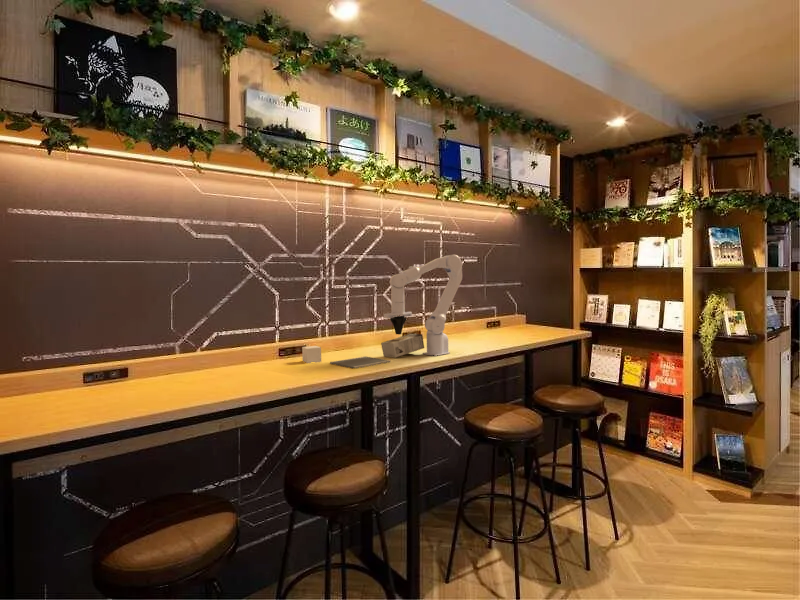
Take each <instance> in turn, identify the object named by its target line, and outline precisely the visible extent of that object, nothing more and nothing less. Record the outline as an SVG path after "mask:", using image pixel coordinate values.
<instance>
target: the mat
mask: <svg viewBox="0 0 800 600" xmlns="http://www.w3.org/2000/svg"><path fill="white" fill-rule="evenodd" d="M387 362H389V363H392V362H391V360H389V359H382V358H377V357H371V356H360V357H353V358H347V359H341V360H333V361H330V362H329V365H334V364H336V365H335V366H339V365H340V366H339V367H344V366H345V368H348V367H350V368H349V369H353V368H356V369H360V368H359V367H361V368H366V367H365V366H367V367H372V366H377V365H376V364H378V365H382V364H381V363H384V364H388V363H387ZM371 365H372V366H371Z"/></svg>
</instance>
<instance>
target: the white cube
mask: <svg viewBox="0 0 800 600" xmlns="http://www.w3.org/2000/svg"><path fill="white" fill-rule="evenodd" d="M301 352H302V354H301V355H302V357H301V358H302V359H301V360H302V362H303V361H304V362H303V363H305V362H306V364H312V363H311V362H315V363H322V347H321V346H318V345H309V346H302V347H301Z"/></svg>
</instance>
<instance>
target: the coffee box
mask: <svg viewBox="0 0 800 600" xmlns="http://www.w3.org/2000/svg"><path fill="white" fill-rule="evenodd" d="M380 345H381V350H382V354H383V355H382V356H383V357H384V356H385V358H386V357H387V358H394V359H395V358H399V357H402V356H405V355H408V354H410V353H414V352H417V351H420V350H422V349H425V345H424V336H423V334H419V333H407V334H404V335H401V336H398V337H395V338H393V339H392V338H391V339H389V340H386V341H383V342H381V344H380Z"/></svg>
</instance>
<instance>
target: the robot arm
mask: <svg viewBox="0 0 800 600" xmlns="http://www.w3.org/2000/svg"><path fill="white" fill-rule="evenodd" d="M463 265H464V263H463V261H462V259H461V257H460V255H457V254H449V255H445V256H442V257H438V258H435V259H433V260H431V261H429V262H427V263H425V264H424V265H421V266H419V267H417V266H416V265H413V266H412V265H411V266H408V268H407V269H405V270H403V271H398V273H397V274H393V275H392V276H391V277H390V278H389V285H390V287H391V288H390V291H391V292H390V295H391V296H390V298H391V299H390V300H391V301H390V302H391V303H390V304H391V305H390V308H391V312H387V313H383V318H384V319H389V320H390V322H391V323H392V327H393V329H394V331H395V335H398V336H399V335H402V332H403V328H404V325H405V323H406V321H407V317H412V316H413V312H412V311H406V309H405V307H406V306H405V304H406V303H405V293H406V292H405V286H406V285H408V284H410V283H413V282H415V281H417V280H419V279H420V278H421V277H422V275H423V274H425V273H427V272H430V271H432V270H435V269H437V268H438V269H441V268H442V269H443V270H444V271H445V272H446V274H447V276H448V278H449V279H448V281H447V283H446V286H445V287H444V290H443V292H442V294H441V296H440V298H439V301H438V302H437V305H436V307H435V309H434V311H433V312H432V313H431V315H430V316H429V318H427V319H426V321H425V322H424V327H425V329H426V330H427V331H426V352H425V351H424V352H422V355H427V356H433V355H434V357H437V355H438V356H442V355H446V354H447V355H448V354H451V351H449V337H448V335H447V334H446V333H444V330H445V329H446V327H445V324H446V322H447V314H448V312H449V309H450V307H451V304H452V303H453V300H454V298H455V296H456V293H457V292H458V289H459V287H460V285H461V282H462V280H463Z"/></svg>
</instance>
